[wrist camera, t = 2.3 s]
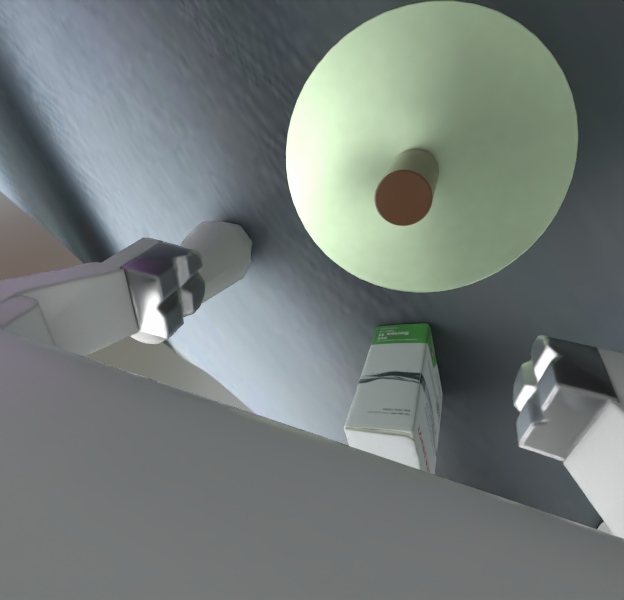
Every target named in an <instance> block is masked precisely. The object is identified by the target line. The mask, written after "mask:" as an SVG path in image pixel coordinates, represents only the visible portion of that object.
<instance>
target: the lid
mask: <svg viewBox="0 0 624 600" xmlns="http://www.w3.org/2000/svg"><path fill="white" fill-rule="evenodd" d="M577 149H578V121H577V112H576V108H575V104H574V99H573V95H572V92H571V89H570V87H569V84H568V82H567V79H566V77H565V74H564V72H563V70H562V69H561V67H560V66H559V64H558V62H557V61H556V59H555V58H554V56H553V54H552V53H551V52H550V51H549V49H548V48H547V47H546V46H545V45H544V44H543V43H542V42H541V40H540V39H539V38H538V37H537V36H536V35H535V34H533V33H532V32H531V31H530V30H528V29H527V28H526V27H524V26H523V25H522V24H521V23H519V22H518V21H516V20H514V19H512V18H511V17H509V16H507V15H505V14H503V13H501V12H499V11H497V10H494V9H491V8H488V7H485V6H482V5H479V4H476V3H469V2H463V1H457V0H428V1H422V2H416V3H410V4H406V5H403V6H399V7H396V8H393V9H390V10H387V11H385V12H383V13H381V14H379V15H377V16H374V17H372V18H370V19H368V20H366V21H365V22H363V23H362V24H360V25H359V26H357V27H356V28H354V29H353V30H351V31H350V32H348V33H347V34H346V35H345V36H344V37H343V38H341V39H340V40H339V41H338V42H337V43H336V44H335V45H334V46H333V47H331V49H330V50H329V51H328V52H327V53H326V54H325V56H324V57H323V58H322V59H321V60H320V61H319V63H318V64H317V65H316V67H315V68H314V70H313V71H312V73H311V74H310V76H309V77H308V79H307V80H306V82H305V84H304V86H303V89H302V91H301V93H300V95H299V97H298V99H297V102H296V105H295V107H294V110H293V113H292V116H291V121H290V125H289V130H288V135H287V146H286V170H287V177H288V184H289V188H290V192H291V196H292V200H293V203H294V205H295V208H296V210H297V213H298V215H299V217H300V219H301V221H302V223H303V225H304V227H305V228H306V230H307V231H308V233H309V234H310V236H311V237H312V239H313V240H314V241H315V243H316V244H317V245H318V246H319V247H320V248H321V249H322V251H323V252H324V253H325V254H326V255H327V256H329V257H330V258H331V259H332V260H333V261H334V262H335V263H337V264H338V265H339V266H341V267H342V268H343V269H345V270H346V271H348V272H350V273H351V274H353V275H355V276H357V277H358V278H360V279H363V280H365V281H367V282H370V283H372V284H375V285H378V286H381V287H385V288H388V289H393V290H399V291H406V292H437V291H444V290H451V289H455V288H458V287H462V286H466V285H469V284H472V283H474V282H477V281H480V280H482V279H484V278H486V277H488V276H490V275H492V274H494V273H496V272H498V271H500V270H501V269H503V268H504V267H506V266H507V265H509V264H510V263H512V262H513V261H515V260H516V259H517V258H518V257H519V256H521V255H522V254H523V253H524V252H525V251H526V250H528V249H529V248H530V247H531V246H532V245H533V244H534V242H535V241H536V240H537V239H538V238H539V237H540V236H541V235H542V234H543V232H544V231H545V230H546V228H547V227H548V225H549V224H550V223H551V221H552V220H553V219H554V217H555V215H556V213H557V212H558V210H559V208H560V206H561V204H562V202H563V201H564V198H565V196H566V193H567V191H568V188H569V185H570V183H571V180H572V176H573V172H574V168H575V164H576V159H577Z"/></svg>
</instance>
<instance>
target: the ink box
mask: <svg viewBox="0 0 624 600" xmlns="http://www.w3.org/2000/svg"><path fill="white" fill-rule="evenodd" d="M442 396H443V394H442V388H441V383H440V377H439V372H438V366H437V361H436V356H435V350H434V345H433V339H432V334H431V329H430V326H429V325H428V324H427V323H419V324H400V325H388V326H379V327H377V329H376V332H375V335H374V338H373V341H372V344H371V347H370V350H369V353H368V356H367V359H366V362H365V366H364V369H363V372H362V375H361V378H360V381H359V384H358V387H357V390H356V393H355V396H354V399H353V402H352V405H351V408H350V411H349V414H348V417H347V420H346V423H345V426H344V431H345V434H346V437H347V440H348V443H349V445H350V446H351V447H354V448H357V449H360V450H363V451H366V452H369V453H372V454H375V455H378V456H381V457H384V458H387V459H390V460H393V461H396V462H398V463H401V464H404V465H407V466H410V467H413V468H416V469H419V470H422V471H425V472H428V473H431V474H434V475H435V466H436V456H437V446H438V436H439V427H440V417H441V407H442Z"/></svg>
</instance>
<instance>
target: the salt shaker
mask: <svg viewBox="0 0 624 600" xmlns="http://www.w3.org/2000/svg"><path fill="white" fill-rule="evenodd" d="M180 246H182V247H186V248H190V249H194V250H197V251H198V252H199V253H200V254H201V255H202V262H203V267H202V268H201V270H200V271H199V273H200V275H201V276H202V278H203V279H204V281H205V294H204V299H203V301H202V303H203V302H205V301H206V300H208V299H210V298H211V297H213V296H215V295H216V294H218V293H219V292H221V291H223V290H224V289H226V288H228V287H229V286H231V285H232V284H234V283H236V282H237V281H239V280H241V279H242V278H243V277H244V276H245V274H246V272H247V270H248V268H249V266H250V264H251V247H252V241H251V239H250V238H249V237H248V235H247V234H246V232H245V231H244V230H243V228H242V227H241V225H237V224H233V223H228V222H223V221H205V222H202V223H201V224H199V225H198V226H197V227H195V228H194V229H193V230H192V231H191V232H190V233H189V235H188V236H187V237H186V238H185V240H184V241H183V242H182V243H181V244H180ZM176 331H177V330H176ZM176 331H175V332H176ZM175 332H174V333H175ZM174 333H173V334H174ZM173 334H172V335H173ZM172 335H171V336H172ZM171 336H170V337H171ZM131 337H132V338H134V339H136V340H138V341H140V342H143V343H151V344H158V343H160V342H162V341H165V340H166V339H167V338H163V337H160V336H156V335H152V334H149V333H145V332H141V331H139V332H138V333H136V334H134V335H131Z"/></svg>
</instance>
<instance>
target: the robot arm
mask: <svg viewBox="0 0 624 600" xmlns="http://www.w3.org/2000/svg"><path fill="white" fill-rule="evenodd" d="M202 267H203V262H202V255H201V254H200V253H199V252H198V251H197V250H194V249H190V248H186V247H182V246H179V245H175V244H171V243H167V242H163V241H160V240H156V239H151V238H142V239H140V240H138V241H137V242H135V243H133V244H132V245H130V246H128V247H127V248H125V249H123V250H122V251H120V252H118V253H117V254H115V255H113V256H112V257H110V258H108V259H107V260H105V261H103V262H102V263H98V262H92V263H87V264H82V265H77V266H72V267H67V268H62V269H57V270H52V271H47V272H42V273H37V274H33V275H27V276H22V277H17V278H12V279H7V280H2V281H0V600H624V355H623V354H622V353H621V352H616V351H612V350H607V349H602V348H597V347H591V346H587V345H582V344H578V343H574V342H569V341H565V340H560V339H556V338H551V337H547V336H542V335H539V336H538V338H537V339H536V340H535V341H534V343H533V345H532V346H531V348H530V352H531V358H532V360H530V361H528V362H526V363H524V364H522V365H521V367H520V369H519V371H518V373H517V375H516V379H515V383H514V386H513V404H514V406H515V407H516V408H517V410H518V411H519V412H520V414H519V416H518V418H517V419H516V429H517V437H518V445H519V447H522V448H525V449H528V450H531V451H534V452H537V453H540V454H543V455H546V456H549V457H552V458H555V459H558V460H561V461H564V462H563V464H564V465H565V467H566V468H567V470H568V471H569V472H570V474H571V475H572V477H573V478H574V480H575V481H576V482H577V484H578V485H579V487H580V488H581V489H582V491H583V492H584V494H585V495H586V497H587V498H588V499H589V501H590V502H591V504H592V505H593V506H594V508H595V509H596V511H597V512H598V513H599V515H600V516H601V518H602V519H603V522H602V523H601V525H600V526H599V527H598V529H594V528H591V527H588V526H585V525H582V524H579V523H576V522H573V521H570V520H567V519H565V518H562V517H559V516H556V515H553V514H550V513H547V512H544V511H541V510H538V509H535V508H532V507H529V506H526V505H523V504H520V503H517V502H514V501H511V500H508V499H505V498H502V497H499V496H496V495H493V494H490V493H487V492H484V491H481V490H479V489H476V488H473V487H470V486H467V485H464V484H461V483H458V482H455V481H452V480H449V479H446V478H443V477H440V476H437V475H434V474H431V473H428V472H425V471H422V470H419V469H416V468H413V467H410V466H407V465H404V464H401V463H398V462H396V461H393V460H390V459H387V458H384V457H381V456H378V455H375V454H372V453H369V452H366V451H363V450H360V449H357V448H354V447H351V446H348V445H345V444H342V443H339V442H336V441H333V440H330V439H327V438H324V437H322V436H319V435H316V434H313V433H310V432H307V431H304V430H301V429H298V428H295V427H292V426H289V425H286V424H283V423H280V422H277V421H274V420H271V419H268V418H265V417H262V416H259V415H256V414H253V413H250V412H248V411H245V410H242V409H239V408H236V407H233V406H230V405H227V404H224V403H221V402H218V401H215V400H212V399H209V398H206V397H203V396H200V395H197V394H194V393H191V392H188V391H185V390H182V389H179V388H176V387H173V386H170V385H167V384H164V383H161V382H158V381H155V380H152V379H149V378H146V377H143V376H140V375H137V374H134V373H131V372H128V371H125V370H122V369H119V368H116V367H113V366H110V365H107V364H105V363H101V362H98V361H96V360H93V359H90V358H87V357H84V356H86V355H88V354H91V353H93V352H95V351H97V350H100V349H102V348H104V347H107V346H109V345H111V344H113V343H116V342H118V341H120V340H122V339H125V338H127V337H129V336H131V335H134V334H136V333H138V332H139V331H141V332H145V333H149V334H152V335H156V336H160V337H163V338H167V339H168V338H169V337H170V336H171V335H172V334H173V333H174V332H175V331H176V330H177V329H178V328H179V327H180V326H181V325H183V324H184V322H183V317H185V316H188V315H191V314H194V313H195V311H196V310H197V309H198V308H199V307H200V305H201V303H202V301H203V299H204V294H205V281H204V279H203V278H202V276H201V275H200V273H199V271H200V270H201V268H202Z"/></svg>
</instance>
